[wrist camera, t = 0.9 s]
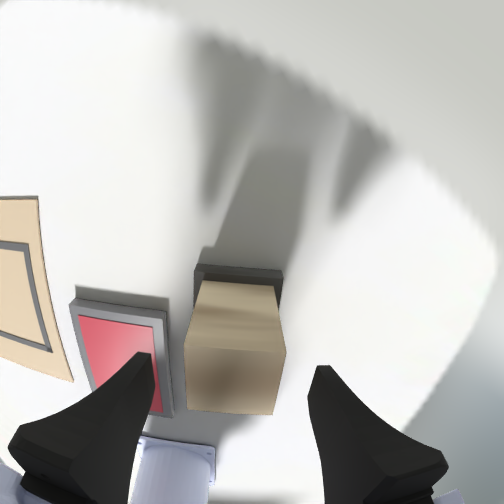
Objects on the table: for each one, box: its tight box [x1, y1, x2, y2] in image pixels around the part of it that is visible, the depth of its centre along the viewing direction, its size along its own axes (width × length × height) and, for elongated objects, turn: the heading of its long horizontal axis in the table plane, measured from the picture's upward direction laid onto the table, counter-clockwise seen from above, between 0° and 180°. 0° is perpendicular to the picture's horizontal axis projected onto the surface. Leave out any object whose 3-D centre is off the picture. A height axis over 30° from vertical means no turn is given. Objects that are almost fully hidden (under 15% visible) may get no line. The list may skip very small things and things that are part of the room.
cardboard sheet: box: [0, 199, 74, 383], centre depth 18 cm, size 16×12×1 cm
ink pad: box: [69, 298, 174, 418], centre depth 19 cm, size 10×7×1 cm
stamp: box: [184, 264, 286, 415], centre depth 15 cm, size 5×5×7 cm
